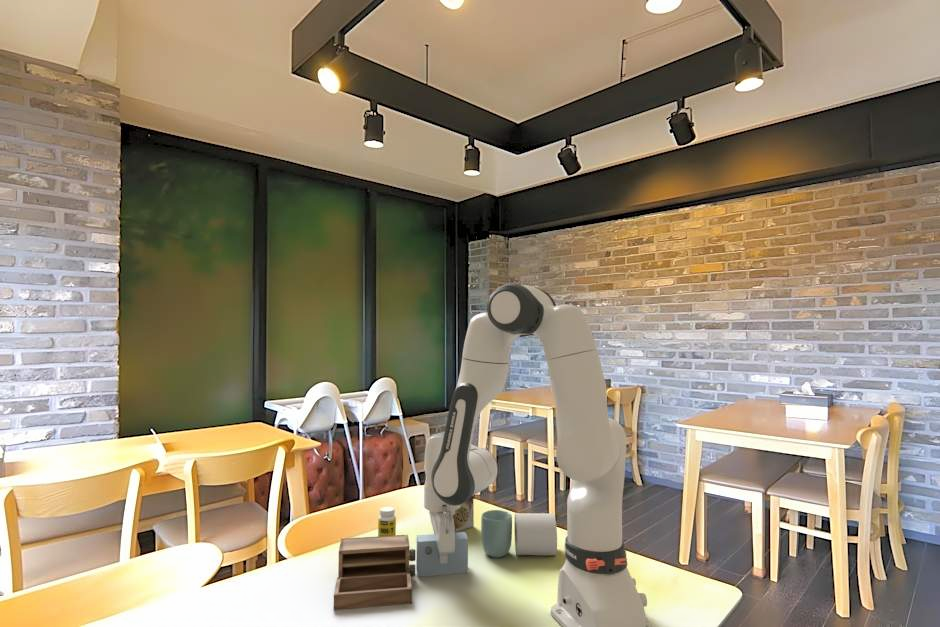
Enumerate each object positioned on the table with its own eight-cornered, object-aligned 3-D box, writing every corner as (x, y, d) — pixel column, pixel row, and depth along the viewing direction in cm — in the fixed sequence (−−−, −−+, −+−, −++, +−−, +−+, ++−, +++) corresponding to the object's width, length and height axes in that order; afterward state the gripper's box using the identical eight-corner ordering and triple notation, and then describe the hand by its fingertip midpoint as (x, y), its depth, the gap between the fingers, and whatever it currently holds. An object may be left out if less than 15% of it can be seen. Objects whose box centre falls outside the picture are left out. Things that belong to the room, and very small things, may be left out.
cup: (500, 563, 126) (500, 522, 127) (475, 555, 131) (475, 515, 132) (517, 553, 133) (517, 514, 133) (492, 545, 137) (492, 507, 138)
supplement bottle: (378, 543, 138) (378, 512, 139) (377, 537, 143) (378, 506, 143) (396, 542, 139) (396, 511, 140) (395, 535, 144) (395, 505, 144)
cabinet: (418, 602, 108) (418, 566, 108) (333, 609, 105) (334, 572, 105) (413, 565, 125) (413, 534, 126) (340, 570, 122) (341, 538, 123)
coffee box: (460, 520, 156) (460, 467, 156) (474, 526, 151) (474, 471, 151) (436, 527, 150) (436, 472, 151) (449, 534, 145) (450, 477, 146)
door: (468, 574, 121) (468, 540, 121) (417, 578, 119) (418, 543, 119) (465, 565, 125) (465, 532, 126) (416, 568, 123) (416, 535, 124)
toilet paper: (551, 545, 137) (551, 508, 138) (557, 562, 127) (557, 521, 128) (514, 545, 138) (514, 507, 138) (517, 561, 128) (517, 521, 128)
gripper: (461, 513, 113) (461, 576, 113) (450, 486, 134) (449, 540, 133) (433, 514, 112) (432, 578, 112) (425, 487, 133) (425, 541, 132)
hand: (442, 557), depth 123 cm, fingers closed on door, 4 cm apart
